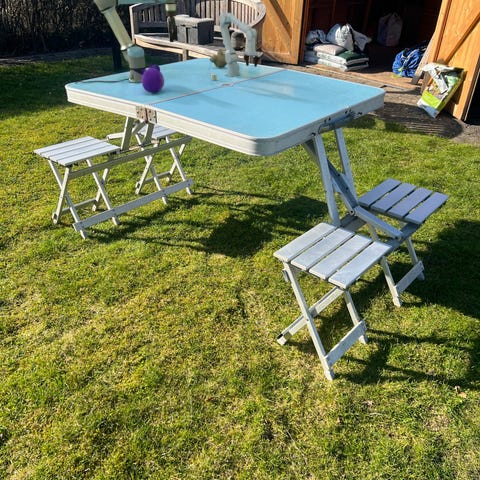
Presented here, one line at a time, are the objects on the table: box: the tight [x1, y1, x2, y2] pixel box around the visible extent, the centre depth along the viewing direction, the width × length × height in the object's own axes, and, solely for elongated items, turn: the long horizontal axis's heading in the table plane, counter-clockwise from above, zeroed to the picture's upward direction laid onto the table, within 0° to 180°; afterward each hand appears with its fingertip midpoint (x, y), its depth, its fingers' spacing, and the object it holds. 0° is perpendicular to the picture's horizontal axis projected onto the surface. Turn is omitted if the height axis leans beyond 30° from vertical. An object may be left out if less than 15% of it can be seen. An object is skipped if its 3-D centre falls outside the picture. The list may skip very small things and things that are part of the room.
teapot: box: [209, 48, 227, 69], centre depth 380 cm, size 21×12×15 cm, turn 120°
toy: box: [134, 64, 165, 94], centre depth 304 cm, size 16×18×27 cm
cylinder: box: [211, 73, 218, 82], centre depth 337 cm, size 4×4×4 cm
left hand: (173, 41), depth 349 cm, fingers open, 13 cm apart
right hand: (251, 66), depth 338 cm, fingers open, 7 cm apart
